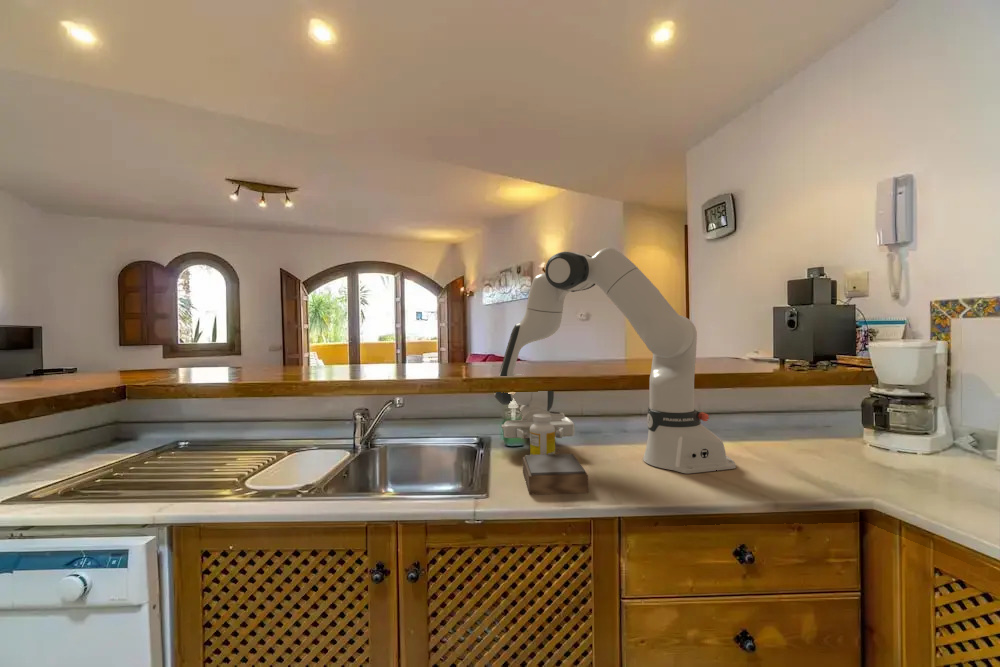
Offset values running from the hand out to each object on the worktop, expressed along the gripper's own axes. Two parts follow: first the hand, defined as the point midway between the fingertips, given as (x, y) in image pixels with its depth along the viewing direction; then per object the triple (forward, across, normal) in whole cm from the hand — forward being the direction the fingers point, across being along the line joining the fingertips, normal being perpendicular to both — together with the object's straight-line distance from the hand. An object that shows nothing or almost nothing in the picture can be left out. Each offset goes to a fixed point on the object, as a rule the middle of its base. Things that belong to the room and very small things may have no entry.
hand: (542, 435), depth 122 cm
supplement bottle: (+2, 0, +7) cm, 7 cm away
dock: (+16, 0, +7) cm, 17 cm away
